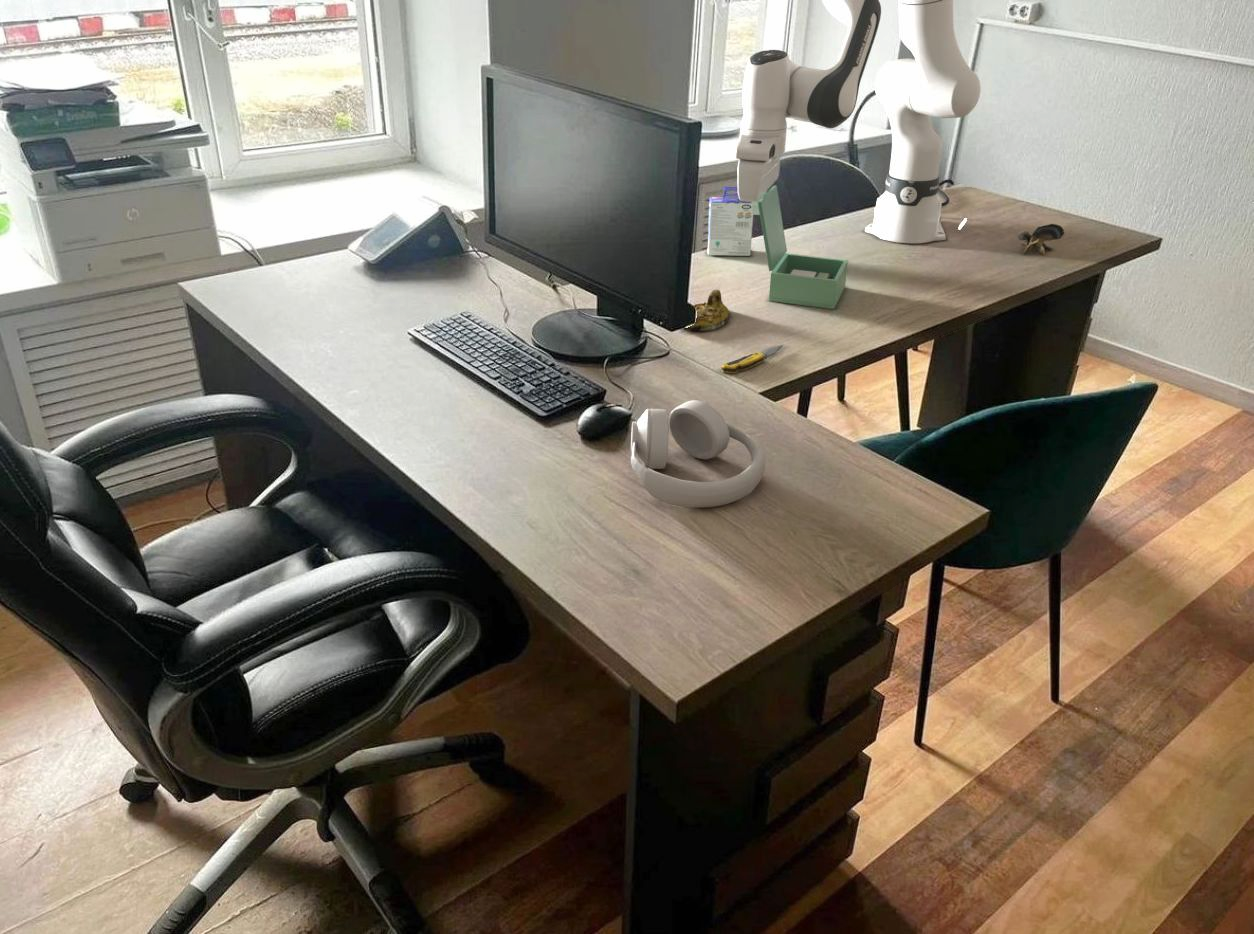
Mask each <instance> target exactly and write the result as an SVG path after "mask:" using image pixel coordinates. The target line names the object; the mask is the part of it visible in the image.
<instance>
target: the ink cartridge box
mask: <svg viewBox="0 0 1254 934" xmlns="http://www.w3.org/2000/svg"><path fill="white" fill-rule="evenodd" d="M729 191H735V192H736V193H727V192H729ZM753 224H754V215H753V214H752V203H751V202H748V201H741V200H740V199H739V196H738V186H723V196H710V197H709V204H708V225H707V226H708V229H707V249H706V250H707V256H730V257H731V256H733V257H734V256H735V257H737V256H738V257H739V256H740V257H751V253H752V241H753V240H752V239H753V228H754V227H753Z"/></svg>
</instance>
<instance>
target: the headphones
mask: <svg viewBox="0 0 1254 934" xmlns="http://www.w3.org/2000/svg"><path fill="white" fill-rule="evenodd" d="M669 432H670V433H669ZM669 434H671V436H672V438H673V440H674V442H675V443H676V444H677V446H679V448H681V449H682V451H684V452H686V453H687V454H688V455H690V456H692V457H694V458H696V459H701V460H710V459H714V458H715V457H717V456H718V455H720V454H722V453H723V452H724V451H725V450H726V449H727V448H728V445H729V443H730V438H731V439H733V440H735V441H738V442H739V443H741V444H742V445H744V447H746V448H745V449H747V451H748V452H749V454H750V457H751V462H750V464H749V466H748V467H747V468H746V469H744V470H743V471H742V472H741V473H738V474H736V475H733V476H732V477H729V478H726V479H722V480H715V481H696V480H695V481H693V480H685V479H679V478H677V477H673V476H670V475H667V474H663V473H661V472H658V471H655V470H654V469H656V470H663V469H665V468H666V466H667V464H668V463H667V462H668V453H669V438H670V437H669ZM630 453H631V457H630V465H631V468H632V470H633V472H634V473H635V475H636V477H638V478H639V481H640V482H641V483H642V484H643V488H644V490H646V491H647V492H648V494H649V495H650V496H651V497H653V498H654V499H656V500H657V501H659V502H662V503H665V504H667V505H672V506H678V507H682V508H686V509H695V508H697V509H698V508H714V507H720V506H724V505H728V504H732V503H734V502H737V501H739V500H740V499H742V498H744V497H746V496H748V495H750V494H751V493H752V492H753V491H754V490H755V488H756V487H757V486H758V485H759V484H760V482H761V480H762V478H763V475H764V473H765V470H766V455H765V452H764V450H763V449H762V447H761V445H760V444H758V443H757V442H756V441H755V439H754V438H753V437H752V436H751V435H750V434H749V433H746V432H745V431H744V430H741V429H739V428H738V427H735V426H733V425H731V424H729V423H727V422H726V420H725V418H724V416H723V415H722V414H721V412H719V410H717V409H715V408H714V407H713V406H711V405H710V404H709V403H707V402H704V401H702V400H698V399H697V400H695V399H691V400H688V401H685V402H683V403H682V404H680V405H678V406H676V407H675V408H674V409H673V410H672V411H671V412H670V413H668V410H667V409H666V408H665V409H663V408H646V409H645V411H644V412H643V413H642V414H641V416H640V417H639V418H638V420H637V421H634V420H633V421H632V422H631V434H630Z"/></svg>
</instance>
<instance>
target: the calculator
mask: <svg viewBox="0 0 1254 934" xmlns="http://www.w3.org/2000/svg"><path fill="white" fill-rule="evenodd" d="M788 274H792V275H801V276H809V277H817V278H826V279H832V274H829V273H820V272H812V271H803V270H795V269H791V270H790V271H789V273H788Z"/></svg>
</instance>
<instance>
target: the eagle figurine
mask: <svg viewBox="0 0 1254 934" xmlns="http://www.w3.org/2000/svg"><path fill="white" fill-rule="evenodd" d="M1064 235H1065V230H1064V229H1063V227H1062V225H1059V224H1056V223H1050V224H1045V225H1041V226H1038V227H1036V229H1035V230H1034V231H1033V232H1032V234H1030V232H1029V231H1028V230H1021V231H1019V232H1018V233H1017V235H1016V236H1017V237H1016V238H1017V239H1018V240H1019V241H1024V243H1023V242H1022V243H1020V246H1023V247H1024V250H1023V255H1026V254H1027V253H1029V252H1030V251H1031V248H1032V247H1033V248H1034V249H1036V250H1038V251H1039V252H1041V253H1042V255H1043V256H1045V254H1046V253H1045V252H1046V251H1045V250H1046V249H1049V250H1053V249H1052V248H1051V247H1049V246H1048V245H1047V244H1046V243H1045V241H1046V242H1049V241H1052V240H1054V241H1055V240H1061V239H1062V237H1064Z"/></svg>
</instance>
